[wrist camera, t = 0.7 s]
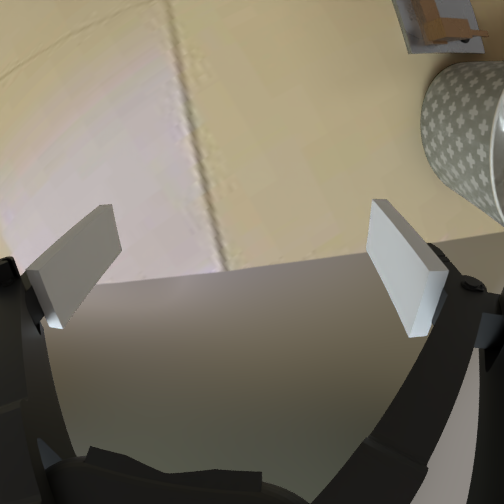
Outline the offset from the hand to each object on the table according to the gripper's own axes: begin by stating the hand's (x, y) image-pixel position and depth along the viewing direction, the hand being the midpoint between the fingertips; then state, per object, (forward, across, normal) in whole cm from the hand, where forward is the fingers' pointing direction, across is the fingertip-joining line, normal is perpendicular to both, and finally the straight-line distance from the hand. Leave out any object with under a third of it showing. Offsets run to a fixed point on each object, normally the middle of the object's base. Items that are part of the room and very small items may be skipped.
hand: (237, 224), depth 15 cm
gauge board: (+27, +24, +24) cm, 43 cm away
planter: (+27, +30, +4) cm, 40 cm away
